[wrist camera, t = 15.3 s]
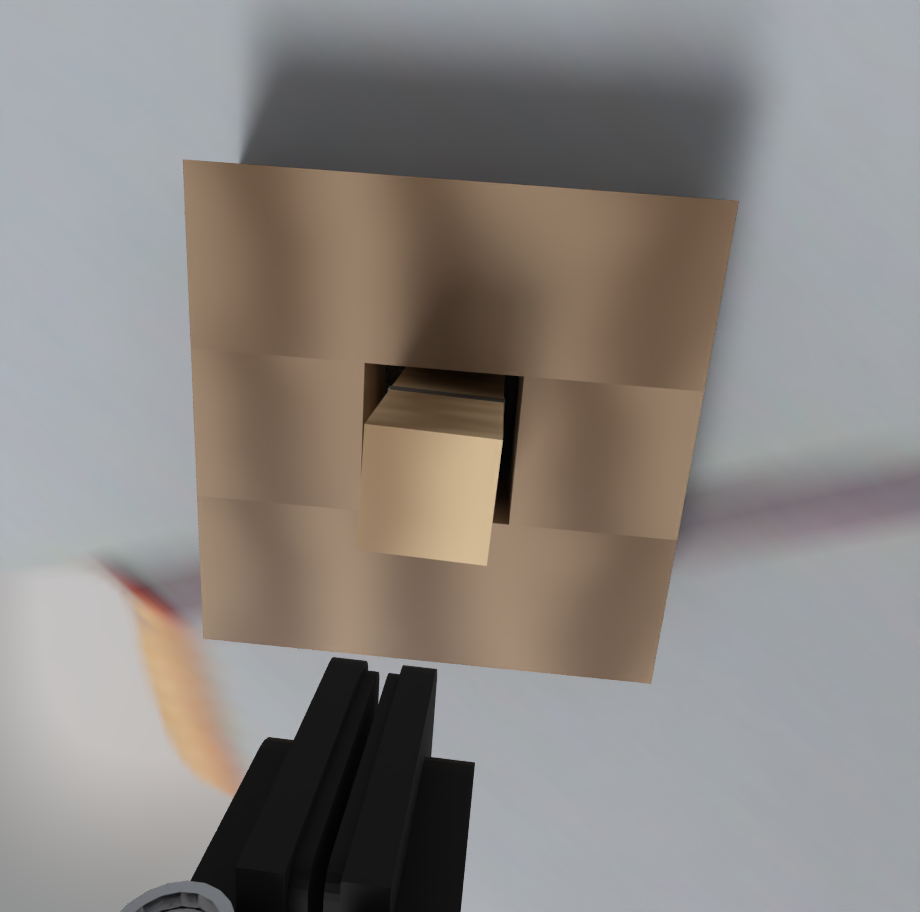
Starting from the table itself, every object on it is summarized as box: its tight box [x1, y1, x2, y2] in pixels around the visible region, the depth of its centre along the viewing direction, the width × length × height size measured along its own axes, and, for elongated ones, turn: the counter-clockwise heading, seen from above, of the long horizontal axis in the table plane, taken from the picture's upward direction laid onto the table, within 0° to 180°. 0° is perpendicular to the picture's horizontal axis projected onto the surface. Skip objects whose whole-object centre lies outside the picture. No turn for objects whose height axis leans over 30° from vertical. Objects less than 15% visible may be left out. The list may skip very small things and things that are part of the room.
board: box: [183, 160, 739, 684], centre depth 28 cm, size 18×18×5 cm
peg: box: [356, 366, 505, 566], centre depth 26 cm, size 4×4×10 cm
